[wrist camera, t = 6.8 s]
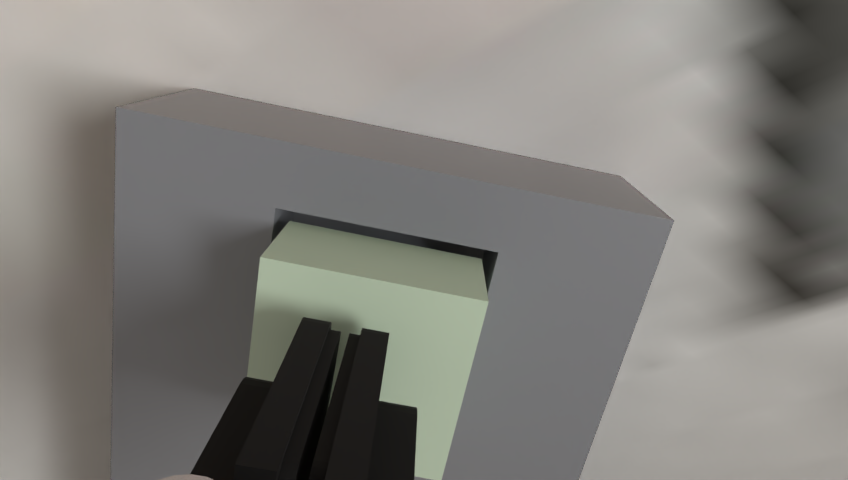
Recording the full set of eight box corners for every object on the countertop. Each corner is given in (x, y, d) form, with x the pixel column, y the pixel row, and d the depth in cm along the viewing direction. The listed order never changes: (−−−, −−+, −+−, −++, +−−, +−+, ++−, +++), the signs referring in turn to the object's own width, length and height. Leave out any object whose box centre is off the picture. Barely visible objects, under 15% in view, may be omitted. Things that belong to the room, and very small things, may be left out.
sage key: (481, 259, 13) (489, 301, 11) (441, 417, 15) (441, 480, 13) (289, 220, 13) (260, 256, 11) (269, 384, 14) (239, 444, 12)
